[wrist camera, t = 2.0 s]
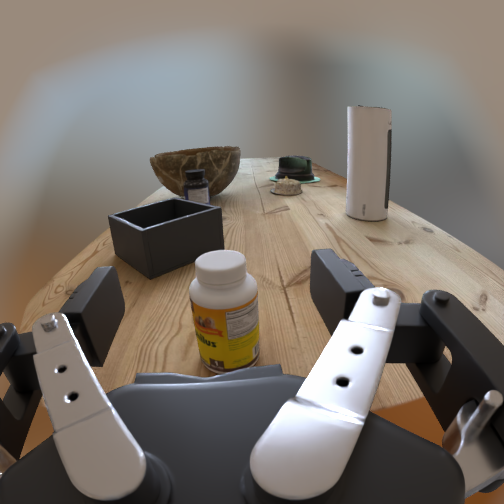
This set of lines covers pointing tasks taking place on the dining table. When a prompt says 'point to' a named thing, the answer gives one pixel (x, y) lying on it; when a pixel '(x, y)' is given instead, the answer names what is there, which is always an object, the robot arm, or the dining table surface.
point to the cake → (287, 187)
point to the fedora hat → (295, 169)
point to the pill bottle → (196, 186)
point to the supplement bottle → (225, 311)
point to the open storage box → (166, 234)
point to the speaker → (368, 162)
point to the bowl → (197, 167)
